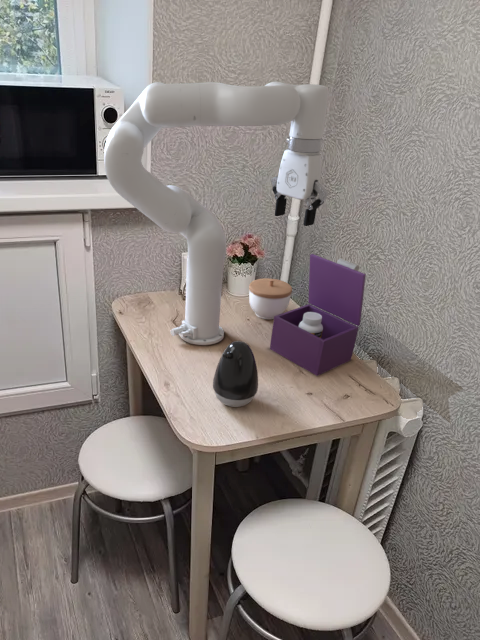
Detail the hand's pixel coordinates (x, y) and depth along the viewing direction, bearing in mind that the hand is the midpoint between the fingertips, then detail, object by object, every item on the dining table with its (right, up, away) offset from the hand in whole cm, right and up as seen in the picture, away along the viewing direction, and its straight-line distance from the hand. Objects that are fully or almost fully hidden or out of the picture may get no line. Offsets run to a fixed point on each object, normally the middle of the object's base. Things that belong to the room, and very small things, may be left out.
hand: (293, 220), depth 131 cm
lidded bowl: (-3, -20, +29) cm, 35 cm away
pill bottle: (+5, -33, +8) cm, 34 cm away
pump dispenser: (-16, -45, -10) cm, 49 cm away
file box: (+6, -33, +9) cm, 35 cm away
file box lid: (+11, -17, +2) cm, 20 cm away
